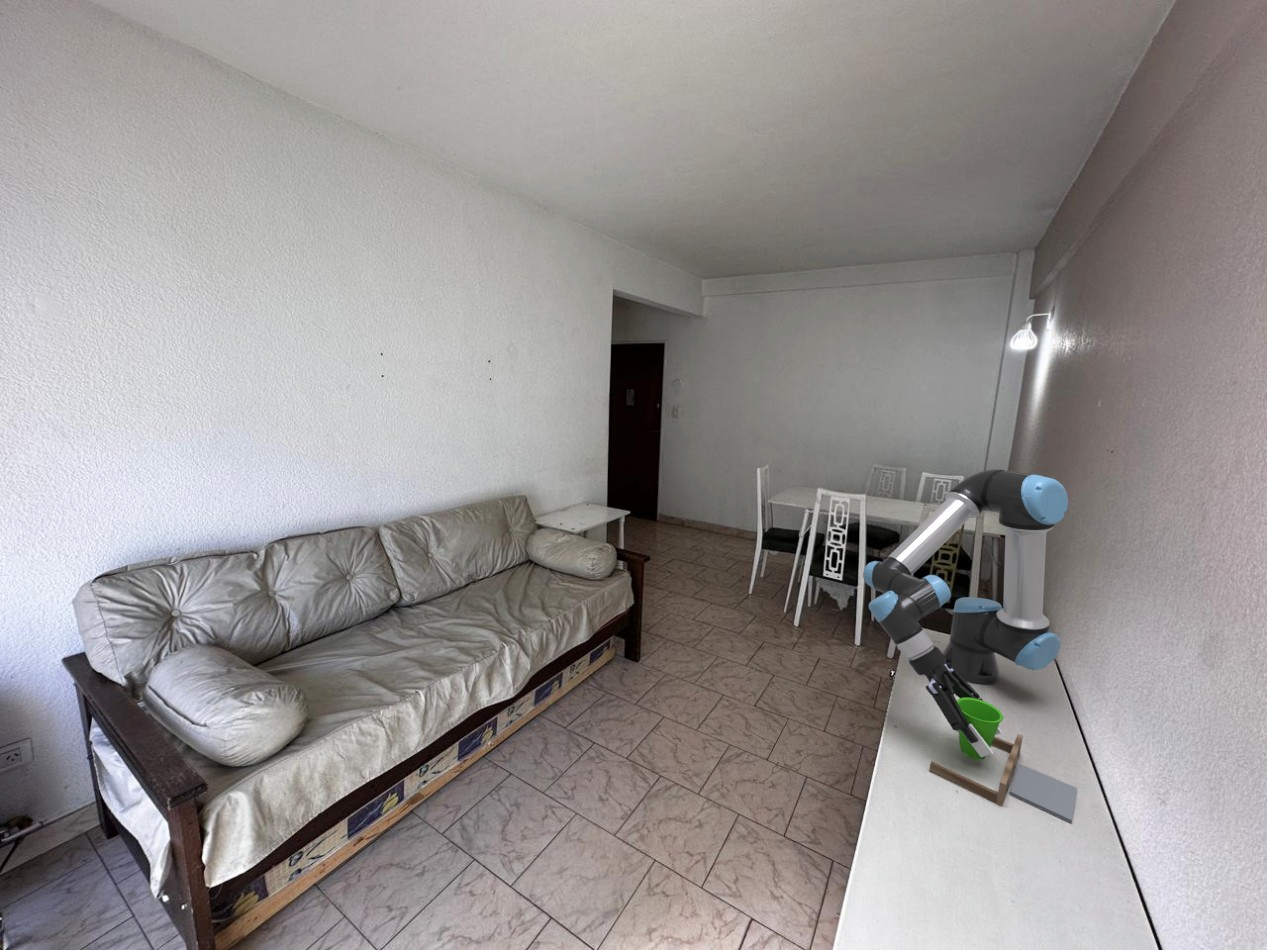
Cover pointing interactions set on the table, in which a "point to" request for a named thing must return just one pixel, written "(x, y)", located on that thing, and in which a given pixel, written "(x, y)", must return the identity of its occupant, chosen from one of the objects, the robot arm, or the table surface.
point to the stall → (978, 788)
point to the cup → (979, 723)
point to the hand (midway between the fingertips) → (991, 744)
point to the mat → (1044, 792)
